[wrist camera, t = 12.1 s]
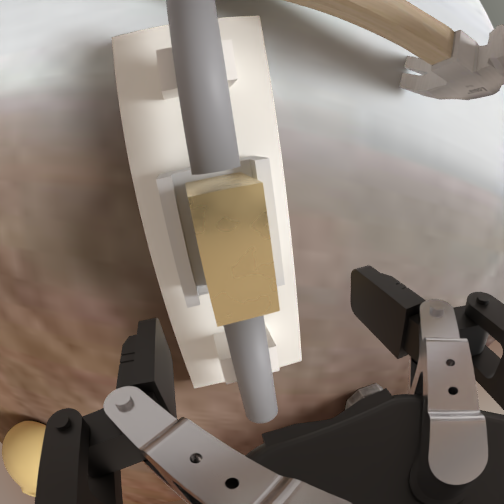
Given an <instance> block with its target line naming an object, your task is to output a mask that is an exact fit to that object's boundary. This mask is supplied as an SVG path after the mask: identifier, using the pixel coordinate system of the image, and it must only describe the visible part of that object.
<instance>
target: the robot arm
mask: <svg viewBox="0 0 504 504" xmlns="http://www.w3.org/2000/svg"><path fill="white" fill-rule="evenodd" d="M351 307H352V310H353V312H354V314H355V315H356V316H357V318H358V319H359V320H360V321H361V322H362V323H363V324H364V325H365V326H366V327H367V328H368V329H369V330H370V331H371V332H372V333H373V334H374V335H375V336H376V337H377V338H378V339H379V340H380V341H381V342H382V343H383V344H384V345H385V346H386V347H387V348H388V349H389V350H390V351H391V353H392V354H393V355H394V356H395V357H396V358H397V359H399V358H402V357H404V356H406V355H408V354H409V355H410V360H409V377H408V394H401V395H393V396H392V395H391V394H390V393H389V391H388V390H387V389H383V390H381V391H379V392H377V393H375V394H372V395H370V396H368V397H366V398H363V399H361V400H359V401H357V402H356V403H355V404H353V405H352V406H350V407H349V408H347V409H346V410H345V411H343V412H342V413H340V414H339V415H337V416H336V417H334V418H332V419H329V420H322V421H315V422H308V423H300V424H294V425H291V426H287V427H284V428H281V429H278V430H274V431H271V432H267V433H264V434H262V437H263V442H264V443H263V444H262V445H260V446H258V447H256V448H255V449H253V450H252V451H250V452H249V453H248V454H247V455H246V456H244V455H242V454H241V453H239V452H237V451H236V450H234V449H233V448H231V447H229V446H228V445H226V444H225V443H223V442H221V441H220V440H218V439H217V438H215V437H214V436H212V435H211V434H209V433H208V432H206V431H205V430H203V429H202V428H200V427H199V426H197V425H196V424H195V423H193V422H192V421H190V420H189V419H187V418H185V417H182V418H180V419H179V420H178V419H177V415H176V403H175V391H174V377H173V362H172V357H171V353H170V350H169V347H168V344H167V341H166V339H165V336H164V333H163V330H162V327H161V324H160V322H159V319H158V318H152V319H148V320H143V321H139V323H138V330H137V335H133V336H129V337H128V339H127V340H126V341H125V343H124V344H123V347H122V353H121V355H122V356H121V359H120V365H119V372H118V379H117V386H116V390H114V391H113V392H111V393H110V394H109V395H108V396H107V398H106V399H105V402H104V408H102V409H101V410H98V411H96V412H93V413H91V414H88V415H85V416H83V417H82V416H81V414H80V413H79V412H78V411H77V410H75V409H71V408H66V409H62V410H59V411H57V412H56V413H54V414H53V415H52V416H51V417H50V418H49V420H48V422H47V424H46V429H45V434H44V439H43V444H42V450H41V456H40V463H39V470H38V478H37V486H36V496H35V504H123V500H122V488H121V471H120V470H121V469H123V468H126V467H129V466H131V465H134V464H136V463H139V462H141V461H142V462H143V463H144V464H145V465H146V466H147V467H148V468H149V469H150V470H151V471H152V472H154V473H155V474H156V475H157V476H158V477H159V478H160V479H161V480H162V481H163V482H164V483H166V484H167V485H168V486H169V487H170V488H171V489H172V490H174V491H175V492H176V493H177V494H178V495H179V496H180V497H181V498H182V499H183V500H184V501H186V502H187V503H188V504H504V415H501V414H496V413H491V412H486V411H482V410H479V402H478V394H477V387H476V381H477V382H478V383H479V384H480V385H481V386H482V387H483V388H484V389H485V390H486V391H487V393H488V394H489V395H490V396H491V397H492V398H493V399H494V400H495V401H496V402H497V403H498V404H499V405H500V406H501V407H502V409H503V410H504V304H503V303H501V302H500V301H499V300H497V299H496V298H494V297H493V296H491V295H489V294H487V293H483V292H474V293H471V294H470V295H469V296H468V298H467V302H466V306H460V307H455V308H453V307H452V306H451V305H450V304H449V303H447V302H445V301H443V300H438V299H431V300H427V301H426V300H424V299H423V298H421V297H420V296H419V295H417V294H416V293H415V292H413V291H412V290H410V289H409V288H406V286H405V285H403V284H402V283H401V284H400V282H399V281H398V280H396V279H395V278H393V277H392V276H389V275H386V274H383V273H380V272H378V271H377V270H376V269H374V268H373V267H371V266H365V267H361V268H358V269H354V270H353V271H352V273H351ZM489 334H490V335H491V336H492V337H493V338H495V339H496V340H497V341H498V342H499V343H500V344H501V345H502V348H503V355H502V358H501V359H500V358H499V357H498V356H497V355H496V354H495V353H494V352H493V351H492V350H490V349H489V348H488V347H487V346H486V345H485V344H486V341H487V338H488V335H489Z"/></svg>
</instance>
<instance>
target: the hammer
mask: <svg viewBox="0 0 504 504" xmlns="http://www.w3.org/2000/svg"><path fill="white" fill-rule="evenodd" d="M284 1H288V2H292V3H295V4H299V5H302V6H305V7H308V8H312V9H315V10H318V11H321V12H324V13H327V14H330V15H332V16H335V17H338V18H340V19H343V20H345V21H348V22H350V23H353V24H355V25H357V26H360V27H362V28H364V29H367V30H369V31H371V32H373V33H375V34H377V35H379V36H382V37H384V38H386V39H388V40H390V41H392V42H394V43H396V44H397V45H399V46H401V47H403V48H405V49H406V50H408V51H410V52H411V53H413V54H414V55H416V56H418V57H419V58H416V57H410V56H407V58H406V62H405V66H404V67H405V68H407V69H409V70H412V71H415V72H417V73H420V74H422V75H420V76H418V75H412V74H406V73H403V74H402V78H401V81H400V85H399V87H401V88H403V89H406V90H409V91H412V92H415V93H418V94H421V95H424V96H427V97H432V98H436V99H462V100H470V99H476V98H480V97H485V96H489V95H493V94H495V93H497V92H498V91H499V90H500V88H501V85H504V25H498V26H497V27H496V28H495V29H494V30H493V31H492V32H491V33H489V41H488V45H485V46H479V45H478V44H477V42H476V41H475V40H473V39H472V38H471V37H470V36H468V35H467V34H466V33H464V32H463V31H462V30H458V31H456V32H454V31H453V30H452V29H451V28H449V27H448V26H446V25H445V24H443V23H442V22H440V21H438V20H437V19H435V18H434V17H432V16H430V15H429V14H427V13H425V12H424V11H422V10H420V9H419V8H417V7H416V6H414V5H412V4H411V3H409V2H407V1H406V0H284Z"/></svg>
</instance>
